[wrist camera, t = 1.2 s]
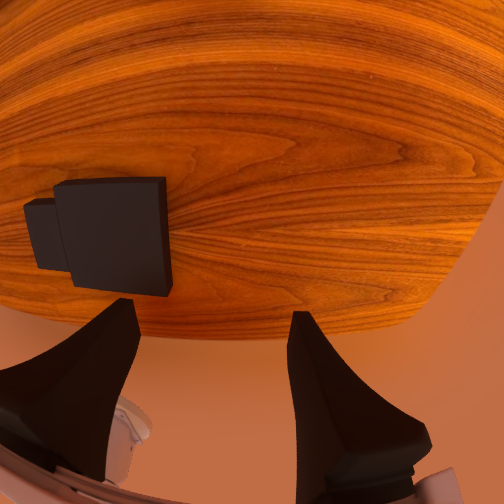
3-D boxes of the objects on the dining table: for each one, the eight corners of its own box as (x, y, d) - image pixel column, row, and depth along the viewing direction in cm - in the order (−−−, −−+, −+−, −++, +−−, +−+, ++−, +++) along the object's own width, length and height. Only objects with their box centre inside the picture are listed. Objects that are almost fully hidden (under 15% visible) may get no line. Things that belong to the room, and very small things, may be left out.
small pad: (173, 284, 21) (167, 297, 19) (51, 272, 20) (42, 282, 19) (166, 176, 17) (158, 182, 16) (32, 182, 17) (20, 189, 15)
